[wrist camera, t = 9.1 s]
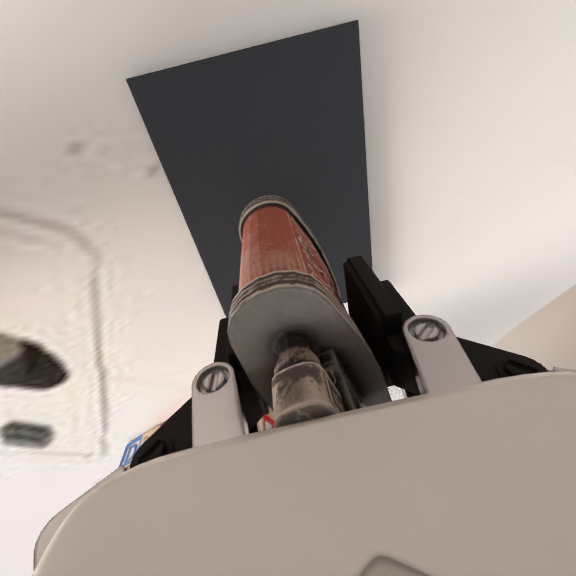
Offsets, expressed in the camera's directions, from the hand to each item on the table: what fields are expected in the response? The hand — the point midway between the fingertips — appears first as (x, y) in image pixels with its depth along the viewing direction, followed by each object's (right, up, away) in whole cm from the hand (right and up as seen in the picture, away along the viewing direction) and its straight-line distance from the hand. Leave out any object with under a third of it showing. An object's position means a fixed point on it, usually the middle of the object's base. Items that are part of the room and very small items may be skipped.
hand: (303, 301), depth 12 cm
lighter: (0, +2, +3) cm, 3 cm away
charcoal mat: (-1, +7, +11) cm, 12 cm away
